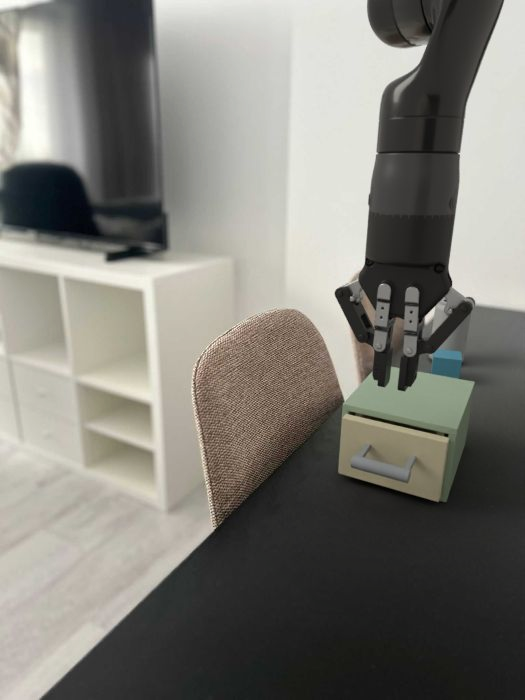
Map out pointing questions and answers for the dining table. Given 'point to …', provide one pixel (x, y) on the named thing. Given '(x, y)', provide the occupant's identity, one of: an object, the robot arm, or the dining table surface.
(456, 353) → the small sky-blue cube
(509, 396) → the dining table surface
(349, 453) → the drawer
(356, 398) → the cabinet
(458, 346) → the beverage can
